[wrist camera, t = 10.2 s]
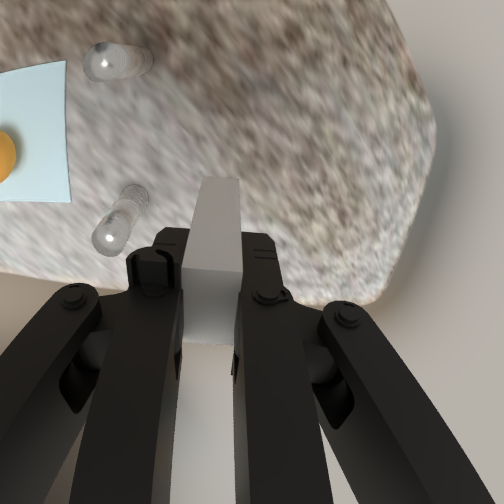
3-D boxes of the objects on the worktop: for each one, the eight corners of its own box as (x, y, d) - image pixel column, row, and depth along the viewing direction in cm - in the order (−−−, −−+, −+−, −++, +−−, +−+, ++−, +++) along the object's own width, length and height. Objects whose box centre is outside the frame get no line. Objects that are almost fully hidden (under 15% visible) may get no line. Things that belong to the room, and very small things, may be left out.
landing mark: (-34, 83, 19) (-35, 83, 19) (66, 60, 21) (65, 60, 20) (-21, 200, 27) (-22, 200, 26) (71, 201, 28) (70, 202, 28)
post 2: (121, 184, 28) (89, 225, 21) (148, 185, 28) (122, 227, 21) (123, 209, 29) (94, 255, 22) (148, 210, 29) (125, 258, 23)
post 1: (124, 47, 21) (84, 44, 14) (154, 46, 21) (122, 40, 14) (122, 76, 22) (82, 83, 16) (151, 75, 23) (119, 80, 16)
